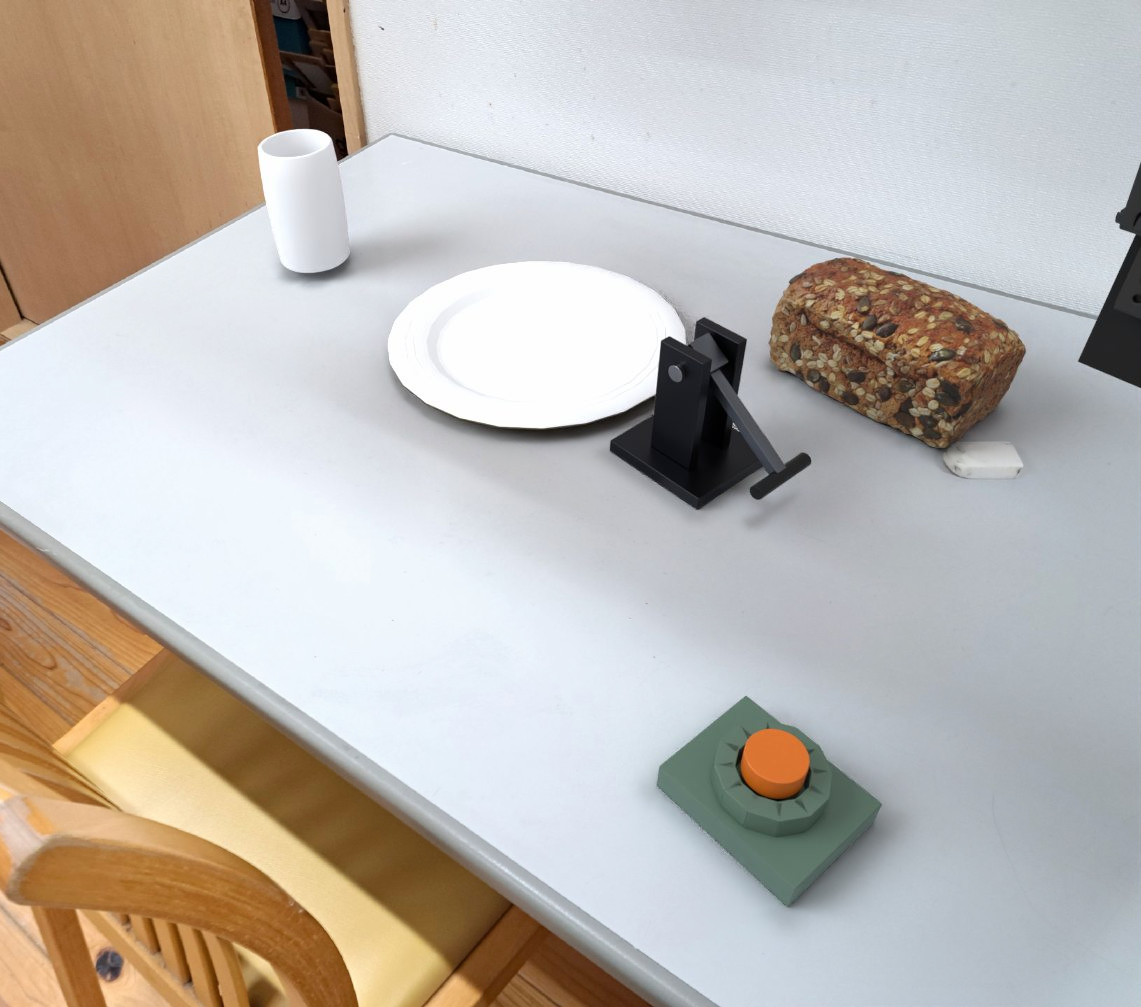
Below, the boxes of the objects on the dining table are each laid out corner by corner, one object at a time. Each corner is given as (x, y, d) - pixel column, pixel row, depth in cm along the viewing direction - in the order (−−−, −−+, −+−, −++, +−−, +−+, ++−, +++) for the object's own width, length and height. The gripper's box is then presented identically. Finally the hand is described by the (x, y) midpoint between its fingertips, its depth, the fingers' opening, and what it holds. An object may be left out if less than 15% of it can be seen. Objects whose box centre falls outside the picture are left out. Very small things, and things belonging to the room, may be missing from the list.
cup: (268, 262, 111) (241, 141, 101) (332, 240, 114) (313, 120, 104) (299, 292, 106) (274, 167, 96) (366, 268, 109) (349, 145, 99)
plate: (745, 340, 94) (748, 324, 93) (546, 489, 80) (546, 472, 78) (527, 248, 110) (527, 233, 109) (329, 358, 96) (326, 342, 94)
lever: (800, 470, 76) (819, 460, 74) (750, 504, 74) (769, 494, 72) (709, 336, 78) (725, 322, 75) (657, 365, 75) (672, 352, 73)
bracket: (769, 461, 81) (794, 343, 73) (697, 510, 77) (714, 391, 69) (680, 408, 87) (694, 293, 79) (609, 450, 83) (616, 335, 75)
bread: (759, 368, 91) (776, 273, 84) (828, 325, 95) (849, 232, 88) (941, 461, 80) (978, 362, 73) (1008, 408, 84) (1049, 309, 77)
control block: (873, 822, 57) (890, 787, 54) (787, 908, 53) (800, 874, 51) (741, 714, 63) (750, 677, 60) (656, 785, 59) (661, 749, 57)
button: (817, 774, 55) (823, 758, 54) (777, 811, 54) (782, 795, 53) (767, 734, 57) (772, 717, 56) (727, 768, 56) (731, 752, 55)
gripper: (1400, -377, 30) (1104, 282, 46) (1215, -345, 25) (952, 390, 41) (1732, -388, 26) (1278, 345, 42) (1596, -351, 20) (1133, 477, 36)
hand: (1117, 367), depth 41 cm, fingers closed
